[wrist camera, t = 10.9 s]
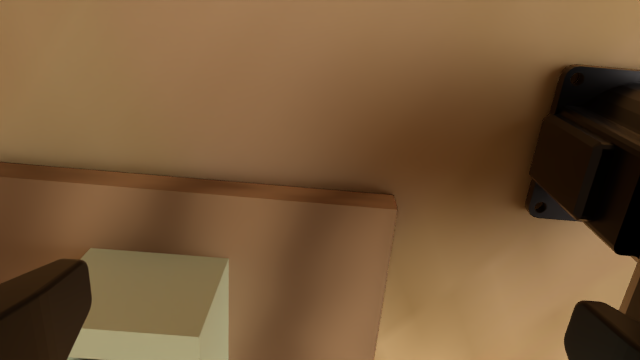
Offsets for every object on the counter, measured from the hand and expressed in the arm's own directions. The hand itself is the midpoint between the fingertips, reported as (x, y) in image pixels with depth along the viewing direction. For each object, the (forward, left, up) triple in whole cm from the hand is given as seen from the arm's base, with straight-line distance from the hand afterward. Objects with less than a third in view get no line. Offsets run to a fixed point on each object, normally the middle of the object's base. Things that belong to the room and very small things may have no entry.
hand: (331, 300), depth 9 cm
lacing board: (+7, +9, -12) cm, 17 cm away
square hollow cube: (+7, +9, -10) cm, 15 cm away
